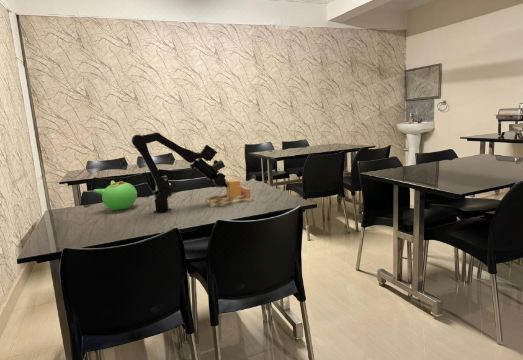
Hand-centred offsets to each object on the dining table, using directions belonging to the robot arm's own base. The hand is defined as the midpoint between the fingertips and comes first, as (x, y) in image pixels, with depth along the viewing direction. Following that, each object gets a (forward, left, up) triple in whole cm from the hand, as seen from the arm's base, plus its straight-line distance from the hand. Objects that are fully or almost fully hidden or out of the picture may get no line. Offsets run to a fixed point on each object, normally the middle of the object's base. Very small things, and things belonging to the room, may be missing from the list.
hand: (227, 186), depth 191 cm
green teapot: (-20, +52, -8) cm, 56 cm away
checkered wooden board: (0, 0, -8) cm, 8 cm away
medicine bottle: (+6, +42, -8) cm, 43 cm away
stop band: (+6, -7, -7) cm, 11 cm away
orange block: (+2, -3, -6) cm, 7 cm away
